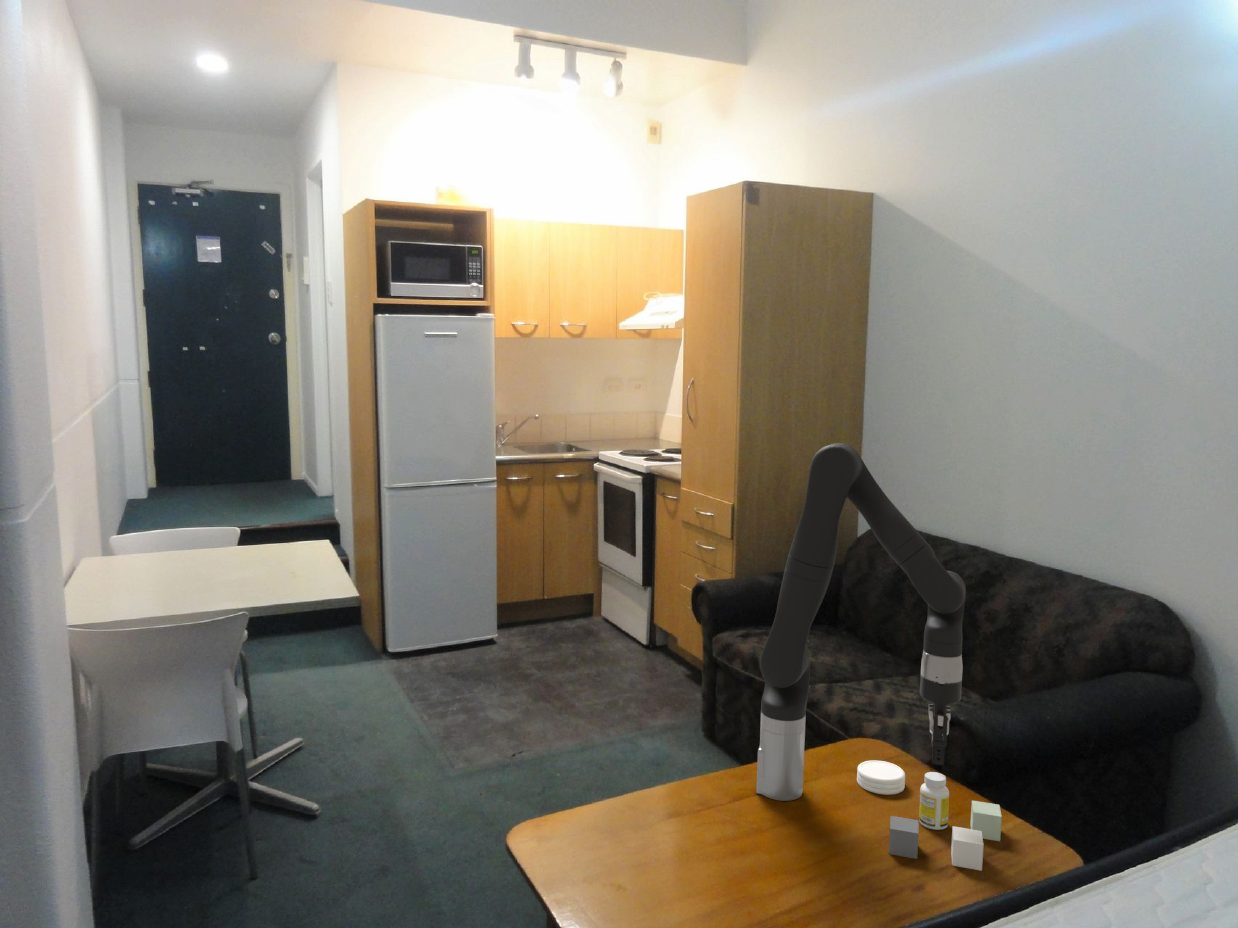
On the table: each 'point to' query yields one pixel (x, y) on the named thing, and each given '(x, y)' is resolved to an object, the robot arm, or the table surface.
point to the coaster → (881, 777)
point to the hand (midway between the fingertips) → (937, 754)
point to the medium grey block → (903, 837)
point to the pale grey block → (967, 848)
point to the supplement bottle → (934, 801)
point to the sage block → (986, 819)
